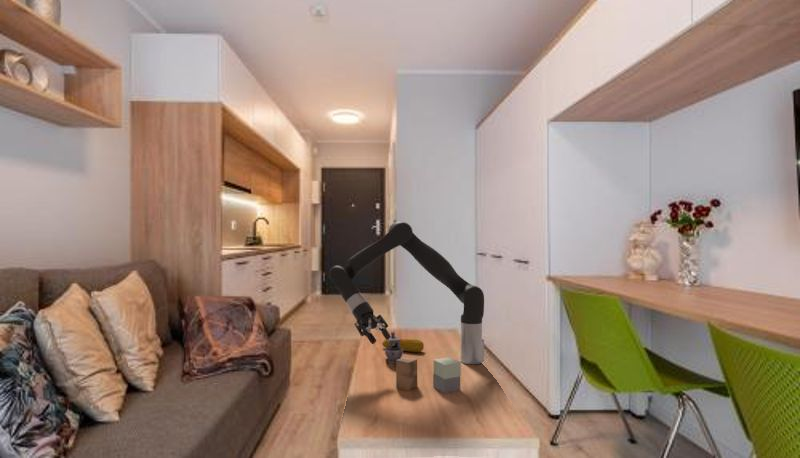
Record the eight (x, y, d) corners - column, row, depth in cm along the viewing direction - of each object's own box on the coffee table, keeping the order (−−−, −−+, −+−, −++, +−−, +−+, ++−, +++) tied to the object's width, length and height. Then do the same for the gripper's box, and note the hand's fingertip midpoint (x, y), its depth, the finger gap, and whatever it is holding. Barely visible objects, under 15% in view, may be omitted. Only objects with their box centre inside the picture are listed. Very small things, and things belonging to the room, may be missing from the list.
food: (424, 351, 204) (424, 339, 204) (420, 354, 199) (420, 341, 199) (384, 347, 212) (384, 335, 212) (379, 350, 207) (379, 337, 207)
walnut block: (405, 383, 160) (405, 356, 160) (417, 386, 157) (417, 359, 157) (396, 387, 156) (396, 360, 156) (408, 391, 152) (408, 362, 153)
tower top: (449, 370, 160) (449, 357, 160) (460, 376, 154) (460, 362, 154) (433, 373, 156) (433, 359, 156) (444, 379, 150) (444, 364, 150)
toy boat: (381, 356, 194) (382, 327, 193) (398, 355, 196) (399, 327, 195) (387, 369, 180) (388, 338, 179) (405, 368, 181) (406, 337, 180)
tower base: (449, 384, 160) (449, 370, 160) (460, 390, 153) (460, 376, 153) (433, 387, 156) (433, 373, 156) (444, 393, 150) (444, 379, 150)
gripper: (352, 303, 163) (375, 338, 156) (376, 299, 175) (398, 331, 168) (342, 315, 166) (364, 350, 159) (366, 310, 178) (388, 342, 171)
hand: (381, 340), depth 163 cm, fingers open, 8 cm apart
